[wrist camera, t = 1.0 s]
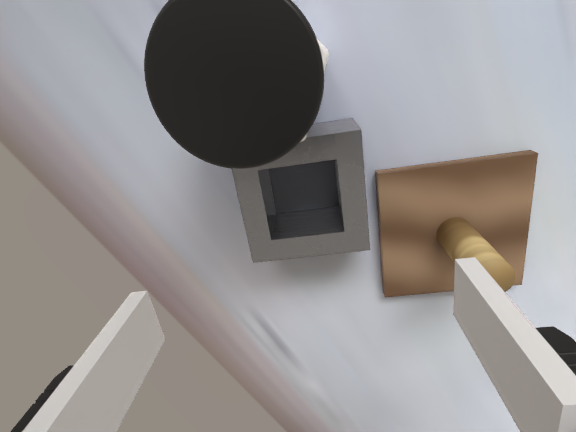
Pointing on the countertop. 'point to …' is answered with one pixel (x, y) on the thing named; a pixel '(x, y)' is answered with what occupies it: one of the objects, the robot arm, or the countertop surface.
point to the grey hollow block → (317, 222)
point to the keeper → (454, 220)
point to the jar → (235, 78)
